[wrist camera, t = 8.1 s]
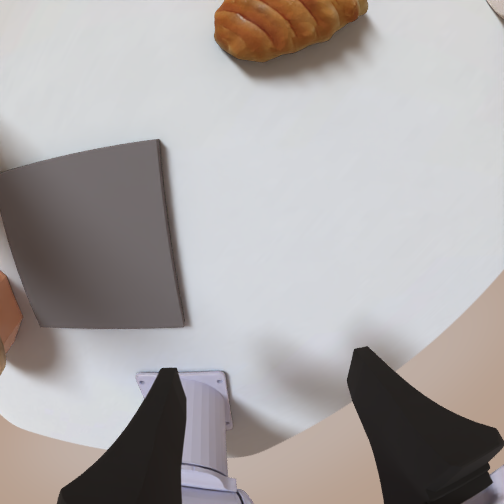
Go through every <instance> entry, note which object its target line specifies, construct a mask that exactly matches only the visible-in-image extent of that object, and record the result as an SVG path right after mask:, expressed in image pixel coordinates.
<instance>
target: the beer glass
mask: <svg viewBox="0 0 504 504" xmlns="http://www.w3.org/2000/svg"><path fill="white" fill-rule="evenodd" d="M487 2H488V3H489V5H490V6H491V7H492V9H493V10H494V11H495V12H496V13H497V14H498V15H499V16H500V17H501V18H503V19H504V0H487Z"/></svg>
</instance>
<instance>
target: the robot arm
mask: <svg viewBox="0 0 504 504" xmlns="http://www.w3.org/2000/svg"><path fill="white" fill-rule="evenodd" d="M136 381H137V383H138V385H139V387H140V390H141V392H142V394H143V396H144V401H143V402H142V404H141V406H140V407H139V409H138V411H137V412H136V414H135V415H134V417H133V418H132V420H131V421H130V423H129V424H128V425H127V427H126V428H125V430H124V431H123V432H122V434H121V435H120V436H119V437H118V439H117V440H116V441H115V442H114V443H113V445H112V446H111V447H110V448H109V449H108V450H107V451H106V452H105V453H104V454H103V455H102V456H101V457H100V458H99V459H98V461H96V462H95V463H94V464H93V465H92V466H91V467H90V468H88V469H87V470H86V471H85V472H84V473H83V474H81V476H79V477H78V478H76V479H75V480H73V481H72V482H71V483H69V484H68V485H66V486H65V487H63V488H62V489H61V491H60V494H59V497H58V501H57V504H253V501H252V500H251V499H250V498H249V496H248V495H247V493H246V492H245V491H243V490H241V489H237V486H236V479H235V478H229V477H228V470H227V450H226V430H231V429H233V423H232V417H231V410H230V404H229V397H228V391H227V384H226V377H225V373H224V372H221V371H212V372H184V373H178V371H177V368H162V369H160V371H159V373H137V374H136ZM347 383H348V387H349V391H350V394H351V398H352V401H353V404H354V406H355V408H356V411H357V413H358V415H359V418H360V420H361V422H362V424H363V427H364V429H365V432H366V434H367V436H368V439H369V441H370V444H371V447H372V450H373V453H374V457H375V461H376V465H377V469H378V473H379V478H380V482H381V488H382V493H383V499H384V504H504V465H503V466H501V467H500V468H498V469H497V470H495V471H494V472H493V473H492V474H490V475H489V473H488V470H489V469H490V466H489V464H488V462H489V461H490V460H491V459H492V458H493V457H494V456H495V455H496V454H497V453H498V452H499V451H500V450H501V449H502V448H503V446H504V440H503V439H502V437H501V436H500V434H499V432H498V430H497V429H496V428H493V427H490V426H486V425H483V424H480V423H476V422H474V421H471V420H469V419H466V418H464V417H462V416H460V415H457V414H455V413H453V412H451V411H449V410H447V409H446V408H444V407H442V406H440V405H438V404H437V403H435V402H434V401H432V400H431V399H429V398H427V397H426V396H424V395H423V394H422V393H420V392H419V391H418V390H416V389H415V388H414V387H412V386H411V385H410V384H409V383H407V382H406V381H405V380H404V379H403V378H402V377H400V376H399V375H398V374H397V373H396V372H395V371H394V370H392V369H391V368H390V367H389V366H388V365H387V364H386V363H385V362H384V361H383V360H382V359H381V358H379V357H378V356H377V355H376V354H375V353H374V352H373V351H372V350H371V349H370V348H369V347H368V346H367V347H362V348H356V349H354V352H353V356H352V361H351V365H350V369H349V373H348V378H347Z"/></svg>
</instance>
